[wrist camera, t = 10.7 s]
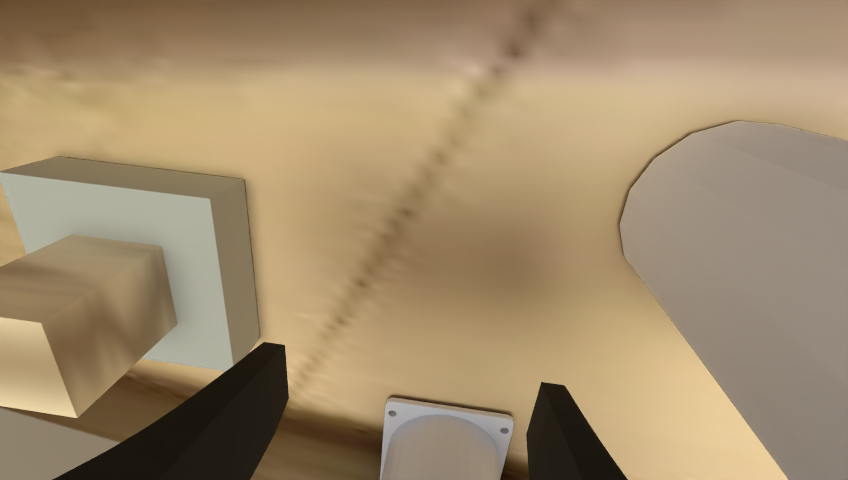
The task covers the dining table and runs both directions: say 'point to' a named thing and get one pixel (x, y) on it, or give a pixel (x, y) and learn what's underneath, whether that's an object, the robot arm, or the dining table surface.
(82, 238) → the block
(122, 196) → the base
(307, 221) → the dining table surface
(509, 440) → the robot arm
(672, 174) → the soap bottle
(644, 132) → the dining table surface
